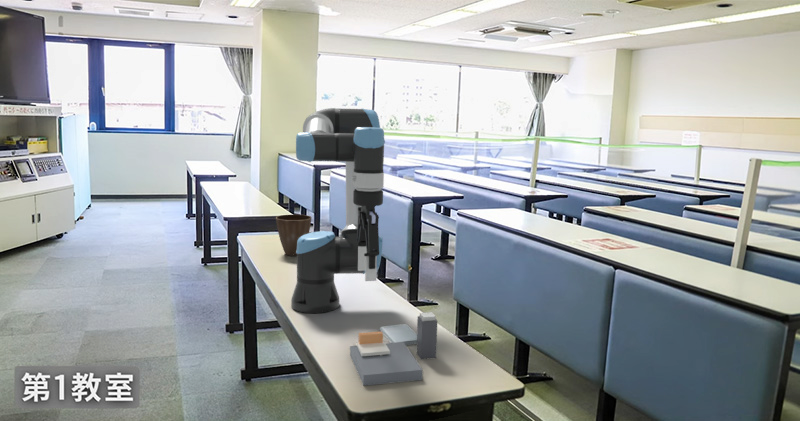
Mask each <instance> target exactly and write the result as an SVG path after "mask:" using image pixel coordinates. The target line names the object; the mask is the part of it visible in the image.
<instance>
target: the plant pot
mask: <svg viewBox="0 0 800 421" xmlns="http://www.w3.org/2000/svg"><path fill="white" fill-rule="evenodd" d="M275 222H276V227H277V228H276V229H277V231H278V232H277V233H278V236H279V240H280V243H281V247H282V250H283V252H284V255H286V256H290V257H297V253H296V250H297V241H298V239H299V238H300V237H301V236H303V235H305V234H308V233H310V230H311V223H312V216H310V215H305V214H283V215H278V216H276V217H275Z"/></svg>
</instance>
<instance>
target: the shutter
mask: <svg viewBox="0 0 800 421" xmlns="http://www.w3.org/2000/svg"><path fill="white" fill-rule="evenodd" d="M357 337H358V341H357V342H356V343H355V344H356V345H355V346H357V347H358V350H359V352H360V354H361V356H363V357H365V356H377V355H385V354H390V350H389V349H388V347H387V345H386V344H385V343H386V341H384V334H383V333H382V331H370V332H369V331H368V332H358V336H357Z"/></svg>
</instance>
